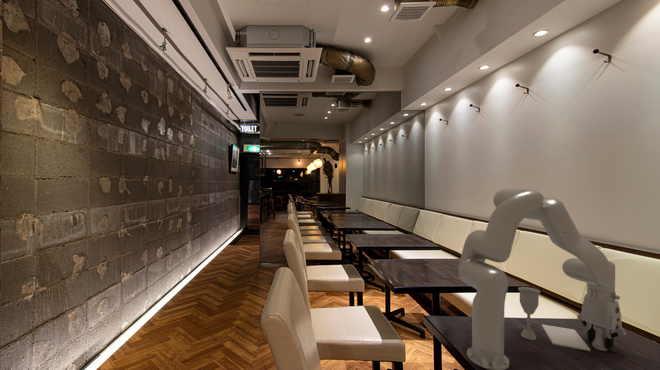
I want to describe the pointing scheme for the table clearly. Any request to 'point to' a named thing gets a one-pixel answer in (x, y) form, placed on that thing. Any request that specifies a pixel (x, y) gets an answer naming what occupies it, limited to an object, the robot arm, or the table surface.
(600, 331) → the rook chess piece
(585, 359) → the table surface
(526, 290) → the chalice
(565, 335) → the grey mat
